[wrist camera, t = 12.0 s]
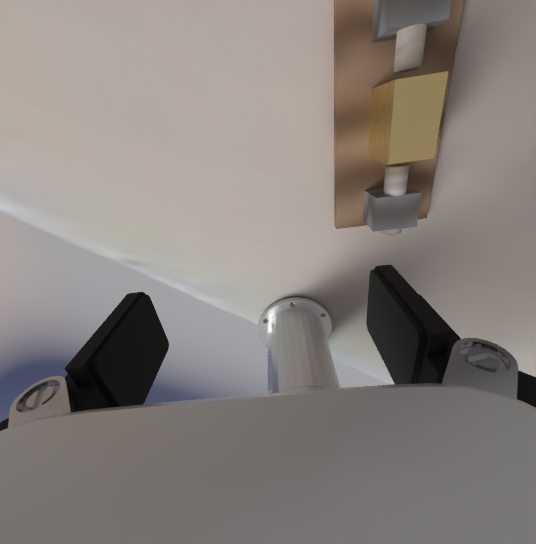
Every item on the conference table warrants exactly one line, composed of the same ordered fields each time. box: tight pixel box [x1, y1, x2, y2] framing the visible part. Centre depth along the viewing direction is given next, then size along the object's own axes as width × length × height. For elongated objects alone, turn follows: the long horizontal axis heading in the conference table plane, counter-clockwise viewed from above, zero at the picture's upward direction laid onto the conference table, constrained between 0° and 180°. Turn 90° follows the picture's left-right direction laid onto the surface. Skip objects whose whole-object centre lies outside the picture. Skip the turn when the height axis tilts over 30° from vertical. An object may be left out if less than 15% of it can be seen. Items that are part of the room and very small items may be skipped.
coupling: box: [368, 71, 448, 165], centre depth 27 cm, size 7×4×6 cm, turn 7°
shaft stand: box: [334, 0, 464, 235], centre depth 28 cm, size 24×12×5 cm, turn 7°
